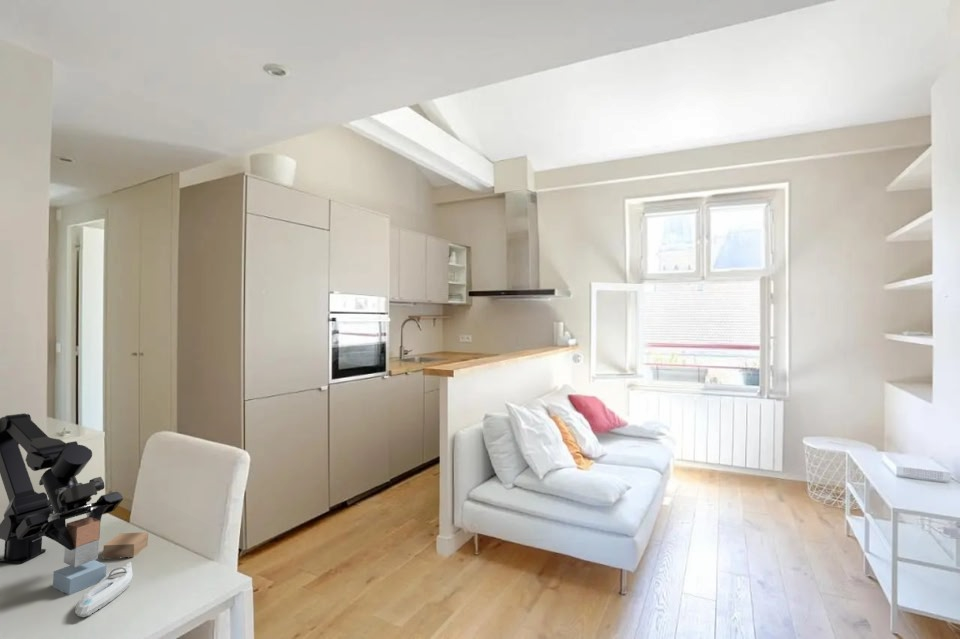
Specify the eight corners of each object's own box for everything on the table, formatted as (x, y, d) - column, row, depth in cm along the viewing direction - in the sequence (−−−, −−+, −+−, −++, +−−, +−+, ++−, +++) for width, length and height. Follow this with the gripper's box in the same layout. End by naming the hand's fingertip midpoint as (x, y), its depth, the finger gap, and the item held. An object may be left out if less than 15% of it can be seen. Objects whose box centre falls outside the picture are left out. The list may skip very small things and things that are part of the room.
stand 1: (52, 586, 104) (53, 571, 104) (88, 572, 110) (89, 557, 110) (69, 595, 101) (70, 579, 101) (105, 579, 108) (106, 564, 108)
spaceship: (103, 620, 94) (104, 599, 94) (64, 625, 92) (65, 603, 92) (148, 563, 116) (149, 546, 116) (118, 567, 114) (119, 549, 114)
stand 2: (102, 559, 117) (103, 545, 117) (118, 546, 123) (119, 533, 124) (133, 557, 118) (134, 544, 118) (147, 544, 125) (148, 532, 125)
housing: (63, 562, 105) (66, 523, 105) (86, 554, 109) (89, 516, 109) (74, 567, 103) (77, 527, 103) (97, 558, 107) (100, 520, 107)
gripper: (26, 480, 99) (49, 542, 95) (121, 459, 117) (144, 511, 112) (5, 509, 102) (27, 570, 98) (101, 484, 119) (123, 536, 115)
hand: (85, 544), depth 105 cm, fingers closed on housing, 4 cm apart
